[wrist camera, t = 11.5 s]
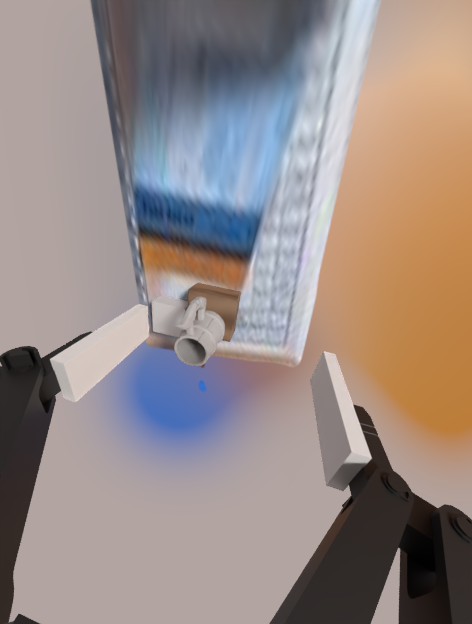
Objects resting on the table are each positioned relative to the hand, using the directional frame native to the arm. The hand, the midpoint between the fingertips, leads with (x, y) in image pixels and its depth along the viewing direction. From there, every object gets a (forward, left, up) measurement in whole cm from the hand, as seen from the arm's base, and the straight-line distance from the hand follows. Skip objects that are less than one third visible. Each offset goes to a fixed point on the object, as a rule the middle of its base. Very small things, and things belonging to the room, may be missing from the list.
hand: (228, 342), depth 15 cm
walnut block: (+12, -9, -29) cm, 33 cm away
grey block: (+16, -19, -29) cm, 38 cm away
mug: (+12, -9, -24) cm, 28 cm away
